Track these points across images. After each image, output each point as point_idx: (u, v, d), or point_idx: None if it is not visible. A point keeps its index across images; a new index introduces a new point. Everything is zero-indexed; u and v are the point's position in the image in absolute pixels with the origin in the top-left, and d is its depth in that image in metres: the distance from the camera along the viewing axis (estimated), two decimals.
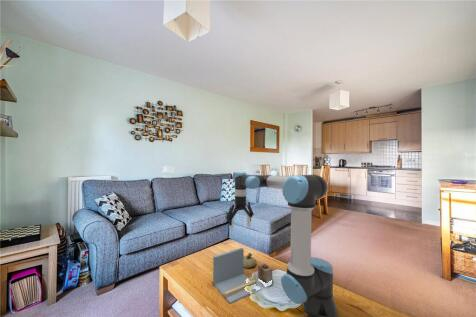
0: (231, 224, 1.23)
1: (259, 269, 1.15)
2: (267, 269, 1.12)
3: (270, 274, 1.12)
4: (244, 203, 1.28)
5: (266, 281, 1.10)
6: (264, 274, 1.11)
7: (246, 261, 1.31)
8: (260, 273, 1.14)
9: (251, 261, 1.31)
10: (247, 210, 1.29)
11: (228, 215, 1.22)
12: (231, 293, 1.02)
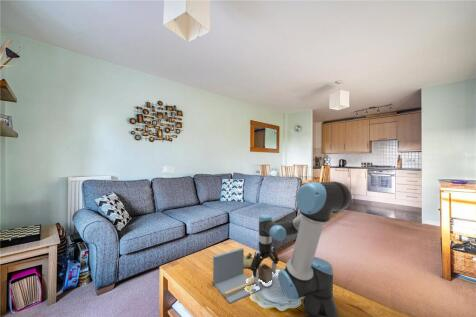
0: (255, 275, 1.10)
1: (259, 269, 1.15)
2: (267, 269, 1.12)
3: (270, 274, 1.12)
4: (269, 250, 1.15)
5: (266, 281, 1.10)
6: (264, 274, 1.11)
7: (246, 261, 1.31)
8: (260, 273, 1.14)
9: (251, 261, 1.31)
10: (272, 257, 1.16)
11: (252, 266, 1.09)
12: (231, 293, 1.02)
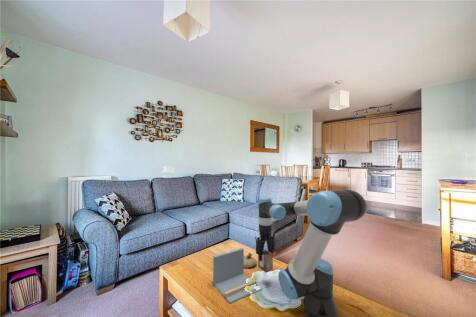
0: None
1: None
2: (267, 254, 1.12)
3: (270, 259, 1.11)
4: (270, 232, 1.15)
5: (266, 266, 1.10)
6: (264, 259, 1.11)
7: (246, 261, 1.31)
8: None
9: (251, 261, 1.31)
10: (270, 243, 1.15)
11: (257, 250, 1.11)
12: (231, 293, 1.02)
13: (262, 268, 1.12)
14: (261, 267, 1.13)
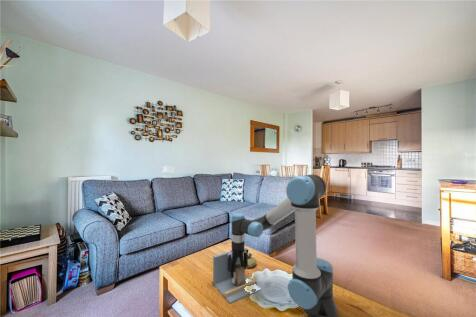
0: (233, 276, 1.11)
1: None
2: (239, 268, 1.11)
3: (242, 274, 1.10)
4: (242, 248, 1.14)
5: (237, 281, 1.09)
6: (235, 273, 1.10)
7: None
8: None
9: (251, 261, 1.31)
10: (243, 259, 1.14)
11: (228, 267, 1.09)
12: (231, 293, 1.02)
13: None
14: None
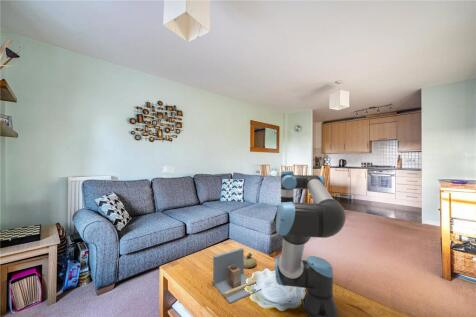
0: None
1: (228, 270, 1.12)
2: (235, 270, 1.09)
3: (238, 275, 1.09)
4: None
5: (233, 282, 1.07)
6: (231, 275, 1.08)
7: (246, 261, 1.31)
8: (228, 274, 1.11)
9: (251, 261, 1.31)
10: None
11: (276, 217, 1.13)
12: (231, 293, 1.02)
13: (230, 284, 1.10)
14: (229, 283, 1.11)
